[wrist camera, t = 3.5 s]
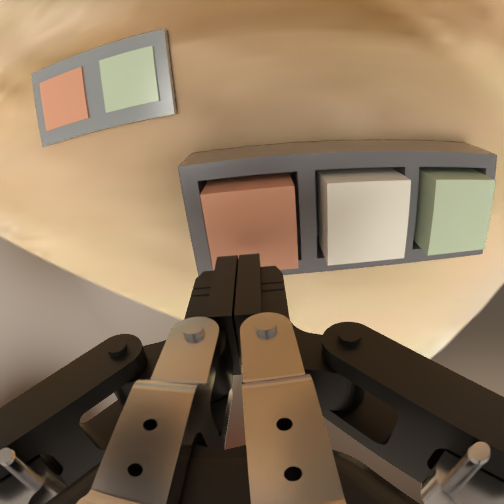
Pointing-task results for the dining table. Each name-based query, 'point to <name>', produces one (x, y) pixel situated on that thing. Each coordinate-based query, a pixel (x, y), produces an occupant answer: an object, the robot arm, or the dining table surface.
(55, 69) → the tile
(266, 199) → the key terracotta
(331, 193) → the key cream
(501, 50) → the dining table surface
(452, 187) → the key sage
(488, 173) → the keypad
